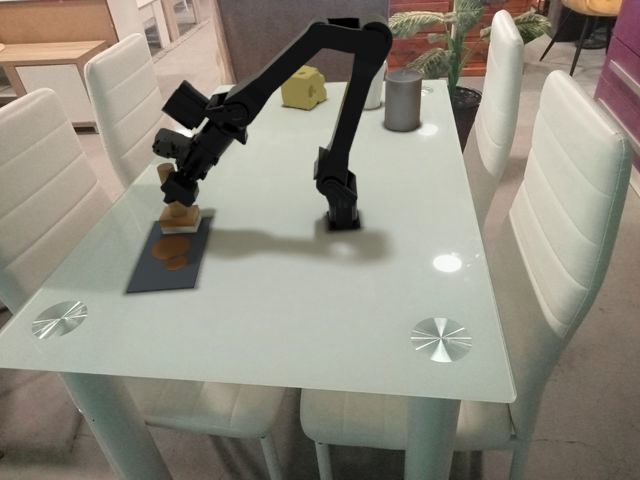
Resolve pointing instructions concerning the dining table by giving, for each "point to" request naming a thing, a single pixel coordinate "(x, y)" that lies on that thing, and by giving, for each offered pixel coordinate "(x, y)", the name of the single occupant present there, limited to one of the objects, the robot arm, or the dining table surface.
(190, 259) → the stain mat
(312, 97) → the cheese
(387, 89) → the pillar candle
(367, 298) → the dining table surface
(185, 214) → the scrub brush
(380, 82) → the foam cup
